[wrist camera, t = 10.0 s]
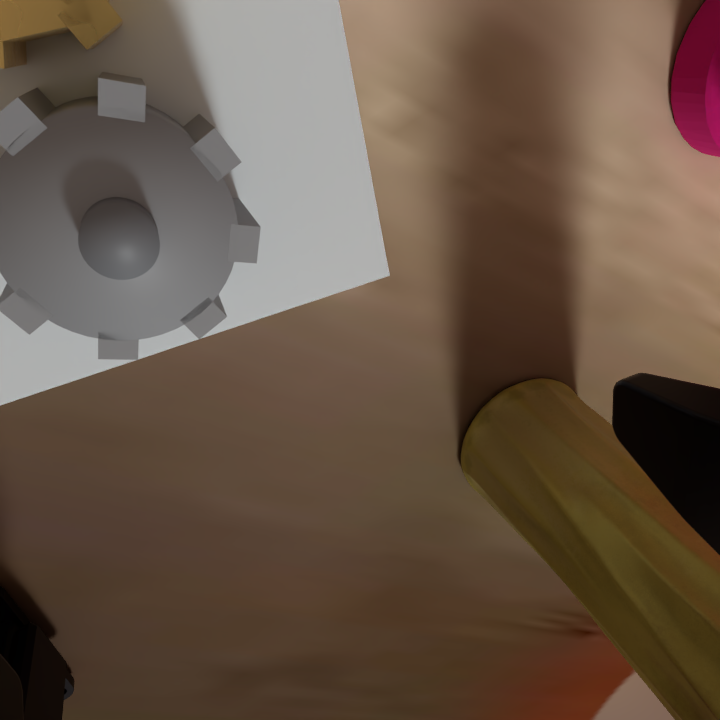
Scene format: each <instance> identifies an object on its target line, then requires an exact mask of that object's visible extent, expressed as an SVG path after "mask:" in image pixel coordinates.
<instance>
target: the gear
mask: <svg viewBox="0 0 720 720" xmlns="http://www.w3.org/2000/svg"><path fill="white" fill-rule="evenodd" d="M109 1H110V0H0V68H3V69H6V68H11V67H16V66H20V65H25V64H27V57H26V42H27V41H31V40H36V39H40V38H45V37H49V36H54V35H58V34H63V33H67V32H72V33H73V34H74V35H75V37H76V38H77V39H78V40H79V41H80V43H81V44H82V45H83V46H84V47H85V49H86V50H89V49H94V48H95V47H96V46H97V45H99V44H100V43H101V42H102V41H103V40H105V39H106V38H107V37H108V36H109V35H111V34H112V33H113V32H114V31H115V30H117V29H118V28H119V27H120V26H122V19H121V18H120V16H119V15H118V14H117V13H116V11H115V10H114V9H113V8H112V6H111V5H110V4H109Z"/></svg>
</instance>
